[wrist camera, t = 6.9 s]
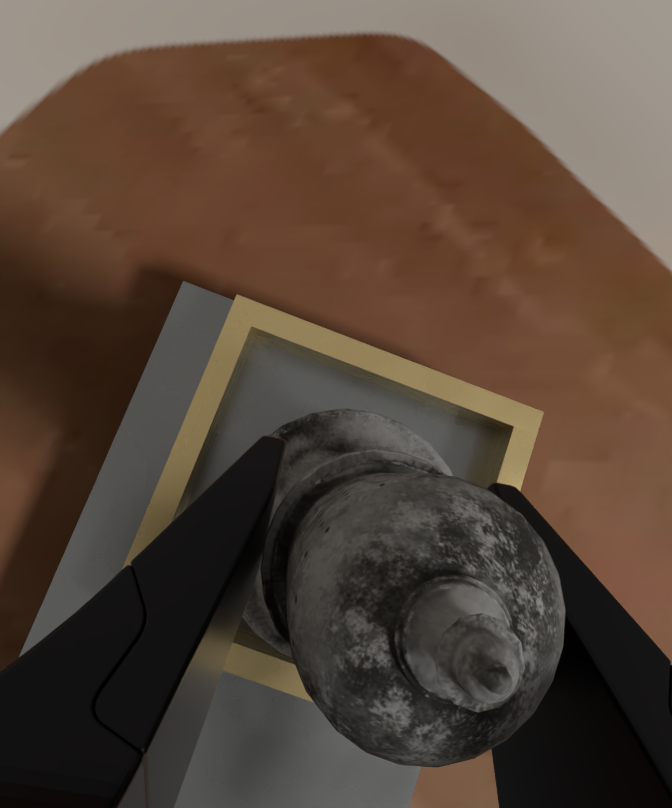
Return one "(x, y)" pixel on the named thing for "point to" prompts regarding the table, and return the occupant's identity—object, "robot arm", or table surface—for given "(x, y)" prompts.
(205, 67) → the table surface
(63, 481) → the table surface
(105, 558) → the grey slab
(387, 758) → the grey tiered ornament
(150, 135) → the table surface
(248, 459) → the robot arm
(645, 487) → the table surface
